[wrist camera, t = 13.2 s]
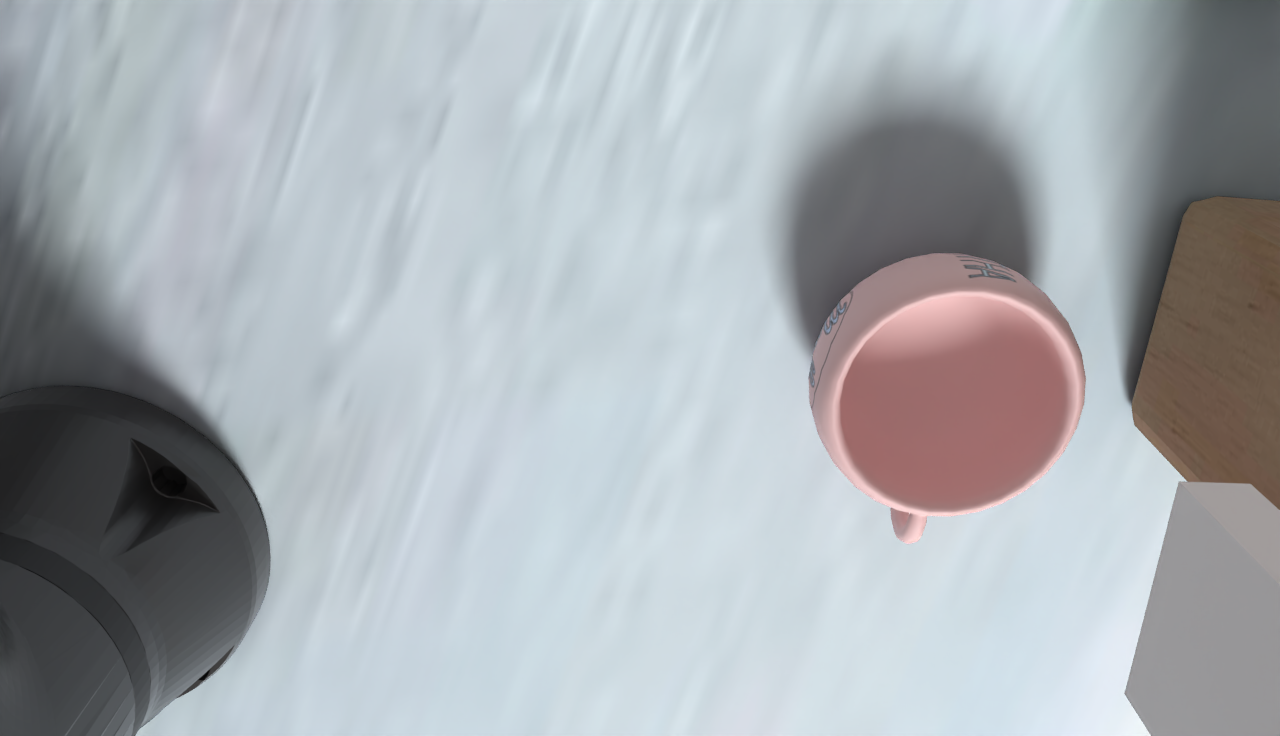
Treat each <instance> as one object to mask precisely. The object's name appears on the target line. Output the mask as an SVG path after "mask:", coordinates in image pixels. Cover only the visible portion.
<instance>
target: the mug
mask: <svg viewBox="0 0 1280 736" xmlns="http://www.w3.org/2000/svg"><path fill="white" fill-rule="evenodd" d="M1085 381H1086V377H1085V371H1084V366H1083V360H1082V354H1081V351H1080V349H1079V346H1078V344H1077V341H1076V339H1075V337H1074V335H1073V332H1072V330H1071V328H1070V326H1069V323H1068V322H1067V321H1066V319H1065V318H1064V317H1063V315H1062V314H1061V313H1060V312H1059V310H1058V309H1057V308H1056V306H1055V305H1054V304H1053V303H1052V301H1051V300H1050V299H1049V298H1048V296H1047V295H1046V294H1045V293H1044V292H1042V291H1041V290H1040V289H1039V288H1038V287H1036V286H1035V285H1034V284H1032V283H1031V282H1030V281H1029V280H1027V279H1026V278H1025V277H1024V276H1022V275H1021V274H1020V273H1018V272H1016V271H1014V270H1012V269H1010V268H1008V267H1005V266H1003V265H1001V264H999V263H997V262H995V261H992V260H988V259H984V258H980V257H975V256H971V255H966V254H962V253H932V254H927V255H921V256H916V257H911V258H906V259H904V260H901V261H899V262H896V263H894V264H891V265H889V266H886V267H884V268H881V269H880V270H878V271H877V272H875V273H874V274H872V275H870V276H869V277H867V278H866V279H864V280H863V281H861V282H860V283H858V284H857V285H856V286H855V287H854V288H853V289H852V290H851V291H850V292H849V293H848V294H847V295H846V296H845V297H844V298H842V299H841V300H840V301H839V303H838V304H837V306H836V307H835V308H834V310H833V311H832V313H831V314H830V316H829V317H828V318H827V320H826V321H825V323H824V325H823V327H822V330H821V332H820V334H819V337H818V339H817V341H816V344H815V346H814V351H813V356H812V362H811V367H810V372H809V399H810V406H811V410H812V413H813V417H814V421H815V424H816V428H817V431H818V434H819V436H820V439H821V441H822V443H823V445H824V446H825V448H826V450H827V452H828V453H829V455H830V457H831V459H832V461H833V462H834V464H835V465H836V466H837V467H838V468H839V470H840V471H841V472H842V473H843V474H844V475H845V476H846V477H847V478H848V479H849V480H850V482H851V483H852V484H853V485H854V486H855V487H856V488H858V489H859V490H861V491H862V492H863V493H865V494H866V495H868V496H869V497H871V498H872V499H873V500H875V501H877V502H879V503H882V504H884V505H886V506H889V507H891V519H892V524H893V528H894V532H895V534H896V536H897V538H898V539H899V540H901V541H903V542H905V543H906V544H911V543H914V542H917V541H918V540H919V539H920V537H921V536H922V533H923V531H924V528H925V525H926V521H927V516H956V515H962V514H968V513H974V512H979V511H982V510H985V509H988V508H990V507H993V506H996V505H999V504H1002V503H1004V502H1006V501H1007V500H1009V499H1011V498H1013V497H1015V496H1016V495H1018V494H1020V493H1022V492H1023V491H1025V490H1027V489H1028V488H1029V487H1030V486H1031V485H1033V484H1034V483H1035V482H1036V481H1037V480H1039V479H1040V478H1041V477H1042V476H1043V475H1045V474H1046V473H1047V472H1048V470H1049V469H1050V468H1051V467H1052V466H1053V464H1054V463H1055V462H1056V461H1057V460H1058V458H1059V457H1060V456H1061V455H1062V454H1063V452H1064V451H1065V449H1066V447H1067V445H1068V443H1069V441H1070V440H1071V438H1072V436H1073V434H1074V432H1075V430H1076V428H1077V425H1078V422H1079V419H1080V415H1081V412H1082V409H1083V405H1084V396H1085ZM909 513H910V514H909Z"/></svg>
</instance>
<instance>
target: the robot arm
mask: <svg viewBox="0 0 1280 736" xmlns="http://www.w3.org/2000/svg"><path fill="white" fill-rule="evenodd" d="M269 574H270V547H269V540H268V535H267V530H266V526H265V523H264V520H263V517H262V514H261V512H260V509H259V507H258V504H257V502H256V500H255V498H254V496H253V494H252V493H251V491H250V489H249V487H248V486H247V484H246V482H245V481H244V480H243V478H242V477H241V475H240V474H239V472H238V471H237V470H236V469H235V467H234V466H233V465H232V464H231V462H230V461H229V460H228V459H227V458H226V457H225V456H224V455H223V454H222V453H221V452H220V451H219V450H218V449H217V448H216V447H215V446H214V445H213V444H212V443H211V442H210V441H209V440H207V439H206V438H205V437H204V436H203V435H201V434H200V433H199V432H197V431H196V430H195V429H193V428H192V427H191V426H189V425H188V424H186V423H185V422H183V421H182V420H180V419H178V418H177V417H175V416H173V415H171V414H170V413H168V412H166V411H164V410H162V409H160V408H158V407H156V406H153V405H151V404H149V403H146V402H144V401H141V400H139V399H136V398H133V397H130V396H127V395H123V394H120V393H116V392H112V391H107V390H102V389H96V388H89V387H77V386H54V387H43V388H35V389H30V390H25V391H21V392H18V393H14V394H11V395H8V396H5V397H3V398H0V736H135V735H136V733H137V731H138V730H139V729H140V728H141V727H143V726H144V725H145V724H146V723H148V722H149V721H150V720H152V719H153V718H154V717H155V716H156V715H157V714H158V713H159V712H161V710H162V709H163V708H165V707H166V706H167V705H168V704H170V703H171V702H172V701H173V700H174V699H176V698H178V697H180V696H182V695H184V694H186V693H188V692H189V691H191V690H193V689H195V688H196V687H198V686H199V685H200V684H202V683H203V682H204V681H206V680H207V679H209V678H210V677H211V676H212V675H213V674H215V673H216V672H217V671H218V670H219V669H220V668H221V667H222V666H223V665H224V664H225V663H226V662H227V660H228V659H229V658H230V657H231V656H232V654H233V653H234V652H235V651H236V649H237V648H238V646H239V645H240V643H241V642H242V640H243V638H244V636H245V635H246V633H247V631H248V629H249V628H250V626H251V624H252V622H253V620H254V619H255V617H256V615H257V613H258V611H259V609H260V607H261V605H262V602H263V600H264V597H265V594H266V591H267V586H268V582H269ZM1125 695H1126V697H1127V698H1128V700H1129V702H1130V703H1131V705H1132V706H1133V708H1134V709H1135V711H1136V713H1137V714H1138V716H1139V717H1140V719H1141V720H1142V722H1143V724H1144V725H1145V727H1146V728H1147V730H1148V731H1149V733H1150V735H1151V736H1280V510H1279V509H1278V508H1277V507H1275V506H1274V505H1273V504H1272V503H1271V502H1270V501H1269V500H1268V499H1267V498H1266V497H1264V496H1263V495H1262V494H1261V493H1260V492H1259V491H1258V490H1257V489H1256V488H1255V487H1254V486H1252V485H1251V484H1242V483H1210V482H1179V483H1178V487H1177V491H1176V494H1175V498H1174V502H1173V506H1172V510H1171V514H1170V518H1169V522H1168V526H1167V530H1166V534H1165V538H1164V541H1163V545H1162V549H1161V553H1160V557H1159V561H1158V565H1157V569H1156V573H1155V577H1154V581H1153V585H1152V588H1151V592H1150V596H1149V600H1148V604H1147V608H1146V612H1145V616H1144V620H1143V624H1142V628H1141V632H1140V635H1139V639H1138V643H1137V647H1136V651H1135V655H1134V659H1133V663H1132V667H1131V671H1130V675H1129V679H1128V682H1127V686H1126V690H1125Z"/></svg>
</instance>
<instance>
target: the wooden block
mask: <svg viewBox="0 0 1280 736" xmlns="http://www.w3.org/2000/svg"><path fill="white" fill-rule="evenodd" d="M1132 413H1133V420H1134V425H1135V426H1136V427H1137V428H1138V429H1139V430H1140V431H1141V433H1142V434H1143V435H1144V436H1145V437H1146V438H1147V439H1148V440H1149V441H1150V442H1151V443H1152V444H1153V445H1154V446H1155V447H1156V448H1157V450H1158V451H1159V452H1160V453H1161V454H1162V455H1163V456H1164V457H1165V458H1166V459H1167V460H1168V461H1169V462H1170V463H1171V464H1172V466H1173V467H1174V468H1175V469H1176V470H1177V471H1178V472H1179V473H1180V474H1181V475H1182V476H1183V477H1184V478H1185V479H1186V480H1187V481H1188V482H1210V483H1242V484H1251V485H1252V486H1254V487H1255V488H1256V489H1257V490H1258V491H1259V492H1260V493H1261V494H1262V495H1263V496H1264V497H1266V498H1267V499H1268V500H1269V501H1270V502H1271V503H1272V504H1273V505H1274V506H1275V507H1277V508H1278V509H1279V510H1280V201H1273V200H1260V199H1247V198H1234V197H1221V196H1215V197H1212V198H1208V199H1204V200H1200V201H1195V202H1192V203H1191V204H1190V206H1189V207H1188V209H1187V210H1186V212H1185V213H1184V215H1183V217H1182V221H1181V225H1180V228H1179V232H1178V236H1177V239H1176V243H1175V247H1174V250H1173V254H1172V258H1171V261H1170V265H1169V269H1168V272H1167V276H1166V279H1165V283H1164V287H1163V290H1162V294H1161V298H1160V301H1159V305H1158V309H1157V312H1156V316H1155V320H1154V323H1153V327H1152V331H1151V334H1150V338H1149V342H1148V345H1147V349H1146V353H1145V356H1144V360H1143V364H1142V367H1141V371H1140V375H1139V378H1138V382H1137V386H1136V389H1135V393H1134V397H1133V400H1132Z"/></svg>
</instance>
